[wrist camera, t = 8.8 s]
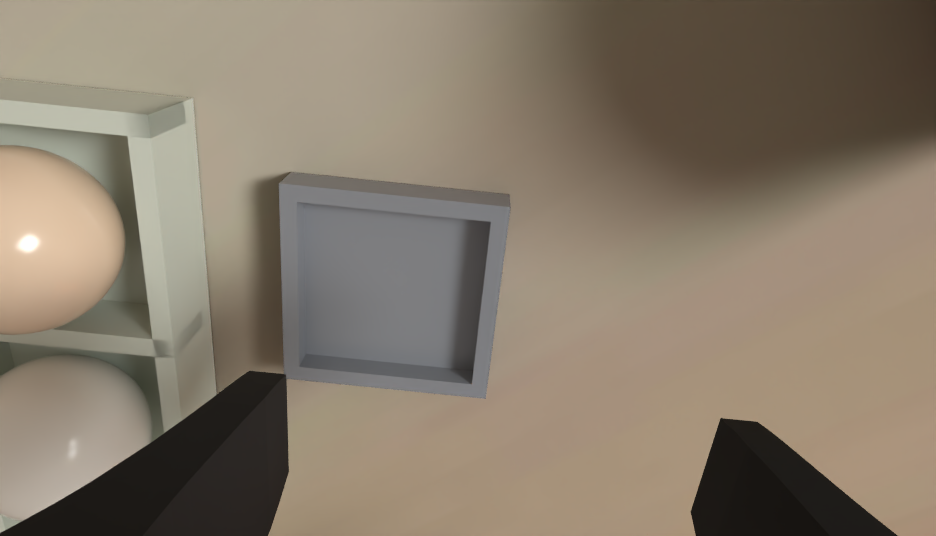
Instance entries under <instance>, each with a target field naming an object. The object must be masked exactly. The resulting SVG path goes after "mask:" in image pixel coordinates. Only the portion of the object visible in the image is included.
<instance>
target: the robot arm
mask: <svg viewBox="0 0 936 536" xmlns="http://www.w3.org/2000/svg"><path fill="white" fill-rule="evenodd" d="M288 472H289V466H288V426H287V386H286V374H276V373H266V372H256V371H249V372H247V373H246V374H244V375H243V376H241V377H240V378H239V379H237V380H236V381H234V382H233V383H232V384H230V385H229V386H228V387H226V388H225V389H224V390H222V391H221V392H220V393H218V394H217V395H216V396H214V397H213V398H212V399H210V400H209V401H208V402H206V403H205V404H204V405H202V406H201V407H200V408H198V409H197V410H195V411H194V412H193V413H191V414H190V415H189V416H187V417H186V418H185V419H183V420H182V421H180V422H179V423H178V424H176V425H175V426H173V427H172V428H171V429H169V430H168V431H166V432H165V433H164V434H162V435H161V436H159V437H158V438H157V439H155V440H154V441H152V442H151V443H149V444H148V445H146V446H145V447H143V448H142V449H140V450H139V451H137V452H136V453H134V454H133V455H131V456H130V457H128V458H126V459H125V460H123V461H122V462H120V463H119V464H117V465H116V466H114V467H113V468H111V469H110V470H108V471H107V472H105V473H104V474H102V475H100V476H99V477H97V478H96V479H94V480H93V481H91V482H90V483H88V484H86V485H85V486H83V487H81V488H80V489H78V490H76V491H75V492H73V493H71V494H70V495H68V496H66V497H64V498H63V499H61V500H59V501H58V502H56V503H54V504H52V505H50V506H49V507H47V508H45V509H43V510H41V511H40V512H38V513H36V514H34V515H32V516H30V517H29V518H27V519H25V520H23V521H21V522H20V523H18V524H16V525H14V526H12V527H10V528H8V529H6V530H4V531H3V532H1V533H0V536H268V534H269V531H270V529H271V526H272V523H273V520H274V517H275V514H276V511H277V508H278V505H279V502H280V498H281V495H282V492H283V489H284V485H285V482H286V479H287V476H288ZM691 515H692V520H693V524H694V529H695V534H696V536H897V535H896V534H895V533H894V532H892V531H891V530H890V529H888V528H887V527H886V526H885V525H883V524H882V523H881V522H880V521H878V520H877V519H876V518H875V517H873V516H872V515H871V514H870V513H868V512H867V511H866V510H865V509H864V508H862V507H861V506H860V505H859V504H857V503H856V502H855V501H854V500H853V499H851V498H850V497H849V496H848V495H846V494H845V493H844V492H843V491H842V490H840V489H839V488H838V487H837V486H836V485H834V484H833V483H832V482H831V481H830V480H828V479H827V478H826V477H825V476H824V475H823V474H821V473H820V472H819V471H818V470H817V469H815V468H814V467H813V466H812V465H811V464H809V463H808V462H807V461H806V460H805V459H803V458H802V457H801V456H800V455H799V454H797V453H796V452H795V451H794V450H793V449H791V448H790V447H789V446H788V445H787V444H785V443H784V442H783V441H782V440H780V439H779V438H778V437H777V436H775V435H774V434H773V433H772V432H770V431H769V430H768V429H766V428H765V427H764V426H762V425H761V424H759V423H758V422H753V421H743V420H733V419H723V418H721V419H720V422H719V425H718V428H717V431H716V434H715V437H714V441H713V444H712V447H711V450H710V453H709V456H708V459H707V462H706V466H705V469H704V472H703V475H702V478H701V481H700V484H699V488H698V491H697V494H696V497H695V500H694V503H693V506H692V510H691Z"/></svg>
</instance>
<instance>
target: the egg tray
mask: <svg viewBox="0 0 936 536" xmlns="http://www.w3.org/2000/svg"><path fill="white" fill-rule="evenodd" d="M0 145H19V146H26V147H32V148H38V149H42V150H45V151H49V152H52V153H54V154H57V155H59V156H62V157H64V158H67V159H68V160H70V161H72V162H74V163H76V164H77V165H79V166H80V167H82V168H83V169H85V170H86V171H87V172H89V173H90V174H91V175H92V176H93V177H95V178H96V179H97V180H98V181H99V182H100V183H101V184H102V185H103V186H104V188H105V189H106V190H107V191H108V193H109V194H110V196H111V197H112V199H113V200H114V202H115V204H116V206H117V208H118V210H119V213H120V215H121V218H122V221H123V225H124V230H125V254H124V259H123V263H122V266H121V269H120V272H119V274H118V276H117V279H116V280H115V282H114V283H113V285H112V287H111V288H110V290H109V291H108V293H107V294H106V295H105V296H104V297H103V298H102V299H101V300H100V301H99V302H98V303H97V304H96V305H95V306H94V307H93V308H91V309H90V310H89V311H87V312H86V313H85V314H83V315H82V316H80V317H78V318H76V319H75V320H73V321H71V322H69V323H66V324H64V325H62V326H59V327H56V328H53V329H50V330H46V331H42V332H37V333H31V334H19V335H3V334H0V376H2V375H3V374H5V373H6V372H8V371H9V370H11V369H13V368H15V367H17V366H19V365H21V364H23V363H26V362H29V361H32V360H35V359H38V358H42V357H47V356H53V355H62V354H75V355H85V356H91V357H95V358H98V359H101V360H104V361H107V362H109V363H111V364H113V365H115V366H117V367H118V368H120V369H122V370H123V371H124V372H126V373H127V374H128V375H129V376H130V377H131V378H132V379H133V380H134V381H135V382H136V383H137V384H138V385H139V387H140V388H141V390H142V391H143V393H144V395H145V397H146V399H147V401H148V404H149V407H150V410H151V415H152V429H153V431H152V439H151V442H152V441H154V440H155V439H157V438H158V437H159V436H161V435H162V434H164V433H165V432H166V431H168V430H169V429H171V428H172V427H173V426H175V425H176V424H178V423H179V422H180V421H182V420H183V419H185V418H186V417H187V416H189V415H190V414H191V413H193V412H194V411H195V410H197V409H198V408H200V407H201V406H202V405H204V404H205V403H206V402H208V401H209V400H210V399H212V398H213V397H214V396H216V395H217V393H216V380H215V368H214V355H213V343H212V330H211V317H210V305H209V292H208V280H207V267H206V255H205V242H204V230H203V217H202V204H201V192H200V179H199V167H198V154H197V142H196V129H195V117H194V104H193V98H188V97H178V96H168V95H159V94H149V93H140V92H130V91H120V90H111V89H101V88H91V87H82V86H72V85H63V84H53V83H43V82H34V81H24V80H14V79H5V78H0ZM20 522H21V521H16V520H13V519H9V518H7V517H4V516H2V515H0V533H1V532H3V531H4V530H6V529H8V528H10V527H12V526H14V525H16V524H18V523H20Z"/></svg>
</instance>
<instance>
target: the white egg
mask: <svg viewBox="0 0 936 536" xmlns="http://www.w3.org/2000/svg"><path fill="white" fill-rule="evenodd" d="M152 431H153V429H152V415H151V410H150V407H149V404H148V401H147V399H146V397H145V395H144V393H143V391H142V390H141V388H140V387H139V385H138V384H137V383H136V382H135V381H134V380H133V379H132V378H131V377H130V376H129V375H128V374H127V373H126V372H124V371H123V370H122V369H120V368H118V367H117V366H115V365H113V364H111V363H109V362H107V361H104V360H101V359H98V358H95V357H91V356H85V355H75V354H62V355H53V356H47V357H42V358H38V359H35V360H32V361H29V362H26V363H23V364H21V365H19V366H17V367H15V368H13V369H11V370H9V371H8V372H6V373H5V374H3V375H2V376H0V515H2V516H4V517H7V518H9V519H13V520H16V521H23V520H25V519H27V518H29V517H30V516H32V515H34V514H36V513H38V512H40V511H41V510H43V509H45V508H47V507H49V506H50V505H52V504H54V503H56V502H58V501H59V500H61V499H63V498H64V497H66V496H68V495H70V494H71V493H73V492H75V491H76V490H78V489H80V488H81V487H83V486H85V485H86V484H88V483H90V482H91V481H93V480H94V479H96V478H97V477H99V476H100V475H102V474H104V473H105V472H107V471H108V470H110V469H111V468H113V467H114V466H116V465H117V464H119V463H120V462H122V461H123V460H125V459H126V458H128V457H130V456H131V455H133V454H134V453H136V452H137V451H139V450H140V449H142V448H143V447H145V446H146V445H148V444H149V443H151V439H152Z"/></svg>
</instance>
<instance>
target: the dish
mask: <svg viewBox="0 0 936 536" xmlns="http://www.w3.org/2000/svg"><path fill="white" fill-rule="evenodd" d="M279 207H280V244H281V282H282V319H283V356H284V374H286V379H295V380H305V381H315V382H325V383H335V384H345V385H355V386H365V387H375V388H384V389H394V390H404V391H414V392H424V393H434V394H444V395H454V396H464V397H474V398H484V399H486V392H487V384H488V376H489V369H490V361H491V353H492V346H493V338H494V330H495V323H496V315H497V307H498V300H499V292H500V284H501V277H502V269H503V261H504V253H505V246H506V238H507V230H508V223H509V215H510V195H509V194H499V193H490V192H480V191H470V190H461V189H451V188H441V187H431V186H422V185H412V184H402V183H393V182H383V181H373V180H364V179H354V178H344V177H334V176H325V175H315V174H305V173H296V172H291V173H290V174H288V175H287V176H286V177H285V178H284V179H283V180H282V181H281V182H280V183H279Z"/></svg>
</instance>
